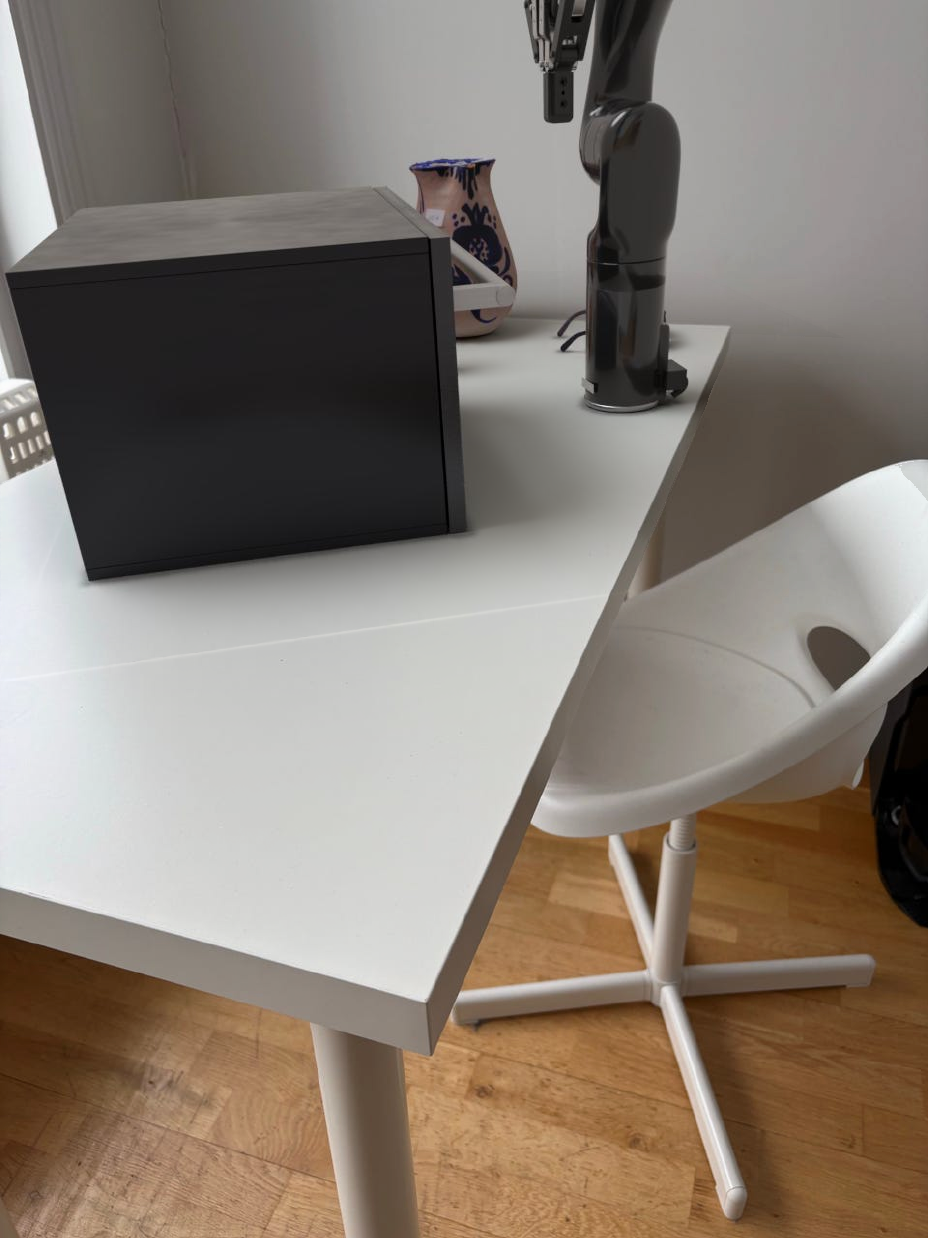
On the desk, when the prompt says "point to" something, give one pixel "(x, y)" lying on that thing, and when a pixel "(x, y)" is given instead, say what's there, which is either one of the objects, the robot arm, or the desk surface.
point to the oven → (236, 377)
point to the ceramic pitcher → (468, 228)
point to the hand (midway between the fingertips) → (558, 122)
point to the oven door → (452, 340)
